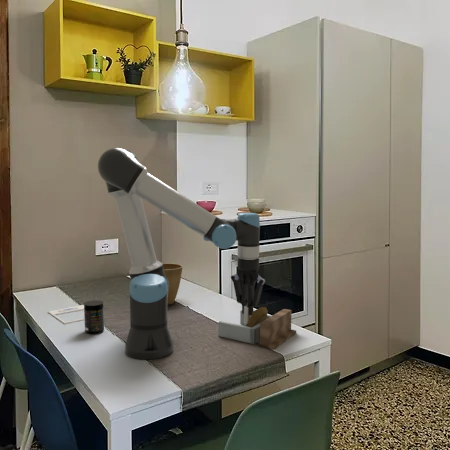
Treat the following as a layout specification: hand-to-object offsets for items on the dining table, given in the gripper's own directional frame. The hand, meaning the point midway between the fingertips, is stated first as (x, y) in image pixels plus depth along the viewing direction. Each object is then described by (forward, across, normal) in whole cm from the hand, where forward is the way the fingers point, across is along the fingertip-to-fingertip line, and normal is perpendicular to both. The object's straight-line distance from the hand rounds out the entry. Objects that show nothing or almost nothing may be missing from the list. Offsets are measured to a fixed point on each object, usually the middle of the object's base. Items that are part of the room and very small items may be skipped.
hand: (247, 323), depth 166 cm
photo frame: (+4, +68, +18) cm, 70 cm away
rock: (+3, -2, 0) cm, 4 cm away
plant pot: (+4, +48, -14) cm, 50 cm away
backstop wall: (+3, -11, 0) cm, 12 cm away
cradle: (+3, 0, 0) cm, 3 cm away
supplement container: (+4, +46, +28) cm, 54 cm away
